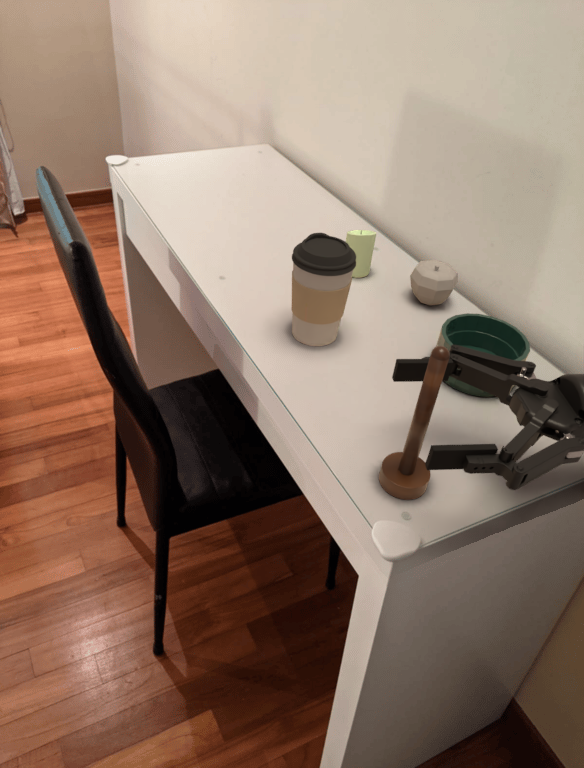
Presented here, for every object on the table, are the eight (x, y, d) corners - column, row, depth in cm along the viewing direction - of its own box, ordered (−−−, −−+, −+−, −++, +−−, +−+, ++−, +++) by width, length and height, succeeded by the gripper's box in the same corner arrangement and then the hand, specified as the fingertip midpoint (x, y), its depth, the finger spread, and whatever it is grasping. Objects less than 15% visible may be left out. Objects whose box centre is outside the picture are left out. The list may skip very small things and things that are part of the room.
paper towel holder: (435, 493, 70) (483, 359, 58) (393, 505, 68) (433, 369, 56) (411, 459, 74) (450, 327, 62) (370, 469, 72) (402, 335, 60)
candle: (337, 265, 110) (343, 222, 105) (362, 263, 112) (370, 221, 107) (347, 279, 107) (354, 235, 102) (373, 277, 108) (381, 234, 103)
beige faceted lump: (461, 304, 104) (471, 269, 99) (431, 317, 99) (440, 282, 95) (425, 283, 108) (434, 249, 104) (395, 295, 104) (403, 261, 100)
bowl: (533, 389, 87) (548, 355, 83) (462, 405, 83) (475, 370, 79) (483, 341, 95) (494, 308, 92) (416, 353, 91) (425, 319, 87)
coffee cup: (353, 345, 91) (370, 255, 82) (298, 355, 88) (308, 262, 79) (329, 313, 98) (341, 226, 88) (276, 321, 95) (283, 231, 85)
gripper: (643, 520, 60) (437, 529, 57) (537, 365, 79) (378, 365, 76) (680, 469, 55) (457, 475, 52) (558, 316, 74) (389, 315, 71)
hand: (410, 410), depth 64 cm, fingers open, 13 cm apart
